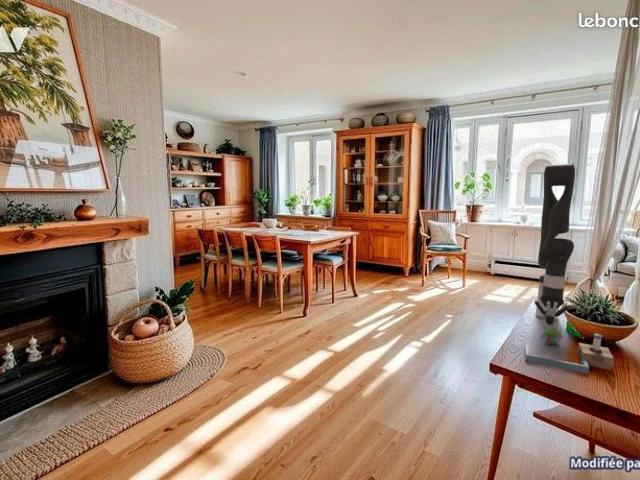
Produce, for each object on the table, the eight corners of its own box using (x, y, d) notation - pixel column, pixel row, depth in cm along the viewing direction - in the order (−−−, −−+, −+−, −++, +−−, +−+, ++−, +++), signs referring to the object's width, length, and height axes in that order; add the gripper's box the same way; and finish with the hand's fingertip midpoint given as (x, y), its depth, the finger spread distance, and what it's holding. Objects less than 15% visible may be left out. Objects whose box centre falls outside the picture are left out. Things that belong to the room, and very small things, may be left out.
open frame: (524, 349, 143) (525, 343, 142) (582, 360, 134) (583, 354, 133) (525, 361, 133) (526, 354, 133) (588, 373, 125) (589, 367, 124)
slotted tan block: (577, 353, 139) (578, 342, 138) (606, 359, 135) (607, 347, 134) (581, 364, 131) (582, 352, 130) (612, 370, 127) (613, 358, 126)
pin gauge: (588, 359, 135) (592, 332, 133) (598, 360, 134) (601, 334, 132) (590, 362, 132) (594, 335, 131) (599, 364, 131) (603, 337, 129)
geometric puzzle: (554, 346, 141) (561, 327, 142) (536, 339, 146) (543, 322, 148) (559, 352, 145) (566, 334, 147) (541, 345, 150) (548, 328, 152)
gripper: (571, 285, 151) (566, 324, 154) (535, 280, 157) (530, 318, 160) (573, 289, 144) (568, 330, 147) (535, 285, 151) (531, 324, 153)
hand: (549, 324), depth 154 cm, fingers closed
